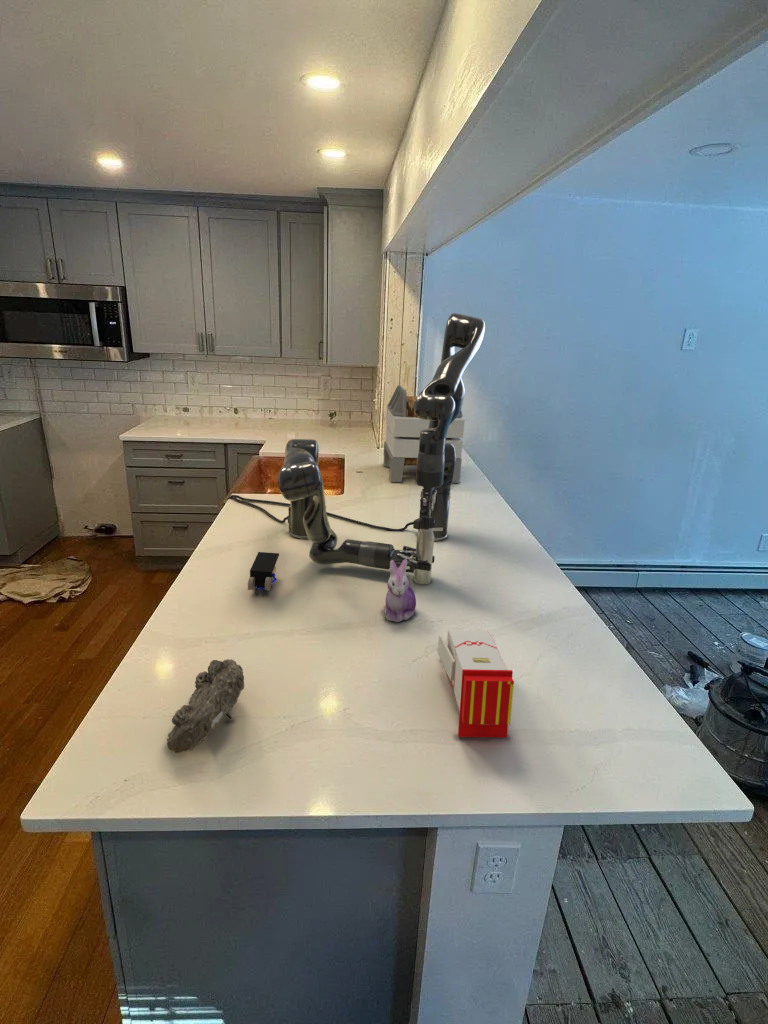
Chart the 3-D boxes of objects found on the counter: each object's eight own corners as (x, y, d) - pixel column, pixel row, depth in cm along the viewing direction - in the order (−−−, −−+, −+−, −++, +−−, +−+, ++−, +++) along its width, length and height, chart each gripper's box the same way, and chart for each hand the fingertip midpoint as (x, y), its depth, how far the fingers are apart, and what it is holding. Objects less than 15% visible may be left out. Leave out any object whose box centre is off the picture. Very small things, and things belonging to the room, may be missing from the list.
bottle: (413, 583, 164) (418, 524, 158) (413, 576, 169) (418, 518, 162) (430, 585, 164) (435, 525, 158) (430, 577, 168) (435, 519, 162)
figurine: (392, 627, 141) (395, 572, 136) (374, 608, 149) (376, 556, 144) (425, 619, 145) (429, 566, 140) (405, 601, 154) (408, 550, 149)
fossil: (192, 660, 117) (244, 628, 112) (224, 691, 120) (276, 661, 115) (142, 746, 98) (202, 712, 93) (182, 779, 101) (242, 748, 96)
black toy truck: (272, 602, 153) (280, 572, 166) (271, 579, 149) (279, 550, 163) (247, 602, 152) (257, 572, 166) (245, 578, 149) (256, 549, 162)
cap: (424, 529, 157) (425, 523, 157) (415, 524, 161) (415, 518, 160) (437, 527, 160) (438, 520, 159) (428, 521, 163) (428, 515, 163)
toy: (488, 613, 130) (523, 677, 101) (484, 667, 133) (517, 744, 104) (435, 612, 130) (455, 676, 101) (432, 666, 133) (451, 743, 103)
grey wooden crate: (382, 463, 289) (386, 382, 275) (445, 464, 293) (451, 384, 279) (390, 482, 257) (394, 392, 243) (460, 483, 261) (468, 394, 247)
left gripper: (369, 552, 160) (429, 561, 156) (382, 534, 173) (437, 542, 169) (368, 576, 162) (427, 585, 158) (381, 557, 175) (435, 565, 171)
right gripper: (440, 476, 147) (435, 536, 153) (447, 462, 160) (442, 519, 166) (412, 473, 149) (408, 533, 155) (421, 460, 162) (417, 516, 168)
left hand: (432, 563), depth 164 cm, fingers closed on bottle, 5 cm apart
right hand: (426, 525), depth 160 cm, fingers closed on cap, 4 cm apart
